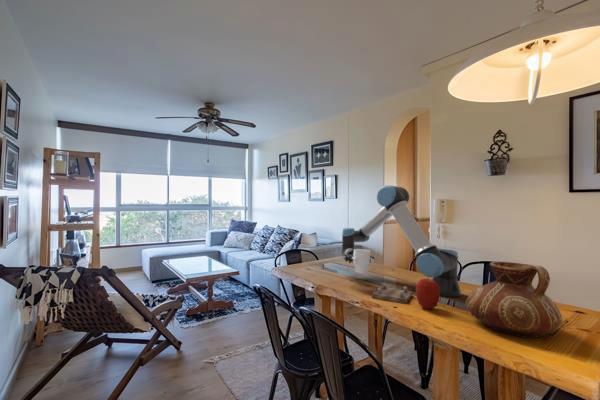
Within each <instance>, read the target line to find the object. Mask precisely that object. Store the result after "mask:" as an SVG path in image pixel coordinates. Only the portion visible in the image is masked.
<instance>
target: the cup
mask: <svg viewBox="0 0 600 400" xmlns="http://www.w3.org/2000/svg"><path fill="white" fill-rule="evenodd" d="M353 256H354V258H356V264H354V263H353V264H354V271H355V273H357V274H367V273H369V268H370V267H369V266H370V263H369V262H370V256H371V250H370V249H365V248H364V249H363V248H354V254H353Z"/></svg>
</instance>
